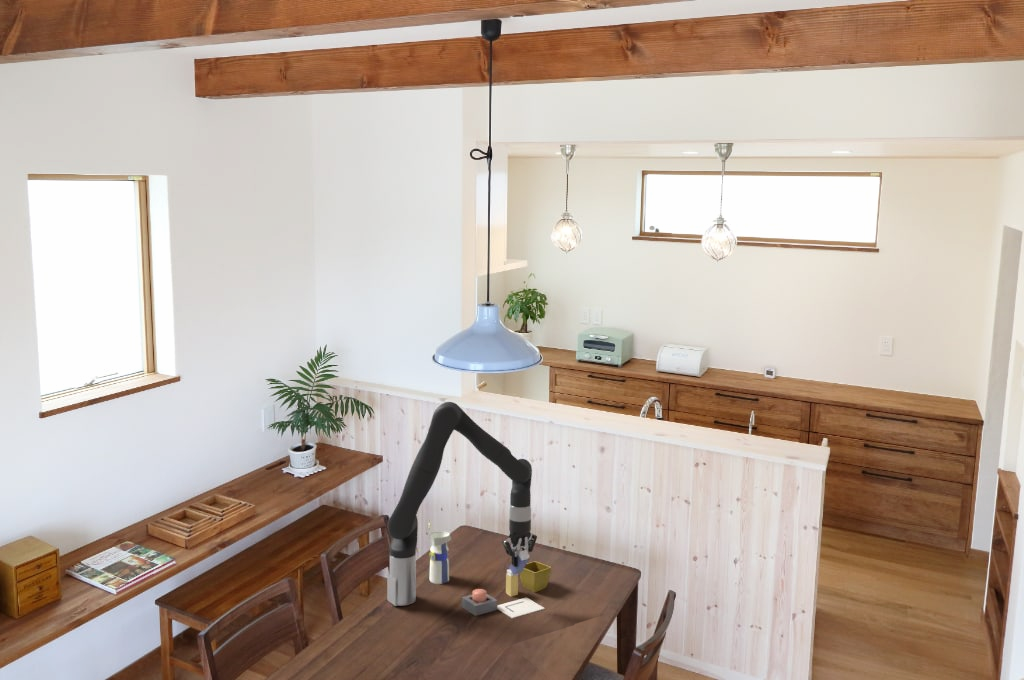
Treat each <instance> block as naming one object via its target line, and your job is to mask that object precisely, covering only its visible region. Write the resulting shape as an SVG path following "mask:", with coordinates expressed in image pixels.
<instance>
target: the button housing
mask: <svg viewBox="0 0 1024 680" xmlns="http://www.w3.org/2000/svg"><path fill="white" fill-rule="evenodd" d="M497 605H498V600H497V599H496V598H495V597H493V596H492V595H489V594H488V593H487V601H484V602H480V603H476V602H474V601H473V600H472V594H469V595H465V596H462V597H461V607H462V608H463V609H465V610H466V611H467V612H469V613H470V614H471V615H473V616H475V617H477V616H481V615H484V614H487V613H491V612H494V611H495V612H496V611H497V610H498V609H497Z"/></svg>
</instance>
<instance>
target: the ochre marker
mask: <svg viewBox="0 0 1024 680" xmlns="http://www.w3.org/2000/svg"><path fill="white" fill-rule="evenodd" d="M505 594H507V596H509V597H510V598H512V597H515V596H517V595H519V574H515V575H513V573H512V571H511V570H510V568H509V569H506V573H505Z"/></svg>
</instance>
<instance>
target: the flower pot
mask: <svg viewBox="0 0 1024 680" xmlns="http://www.w3.org/2000/svg"><path fill="white" fill-rule="evenodd" d="M551 571H552V566H549V565H547V564H544V563H542V562H539V561H535V560H534V561H530V562H527V564H526V565H525V567H524V569H523V570H522V572H521V573H519V578H520V582H521V585H522V587H523V588H524V589H526V590H528V591H530V592H533V593H537V592H539V591H542V590H544V589H546V588H547V586H548V584H549V581H550V578H551V577H550V576H551Z"/></svg>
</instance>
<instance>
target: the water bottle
mask: <svg viewBox="0 0 1024 680" xmlns="http://www.w3.org/2000/svg"><path fill="white" fill-rule="evenodd" d="M430 522H431V521H430V519H429V520H428V521H427V528H428V530H430V527H431V523H430ZM428 538H429V543H430V542H431V547H430V549H429V551H430V552H429V553H428V558H429V559H430V560H429V578H428V579H429V581H430V583H432V584H434V585H435V584H437V585H440V584H441V585H442V584H446V583H448V582H449V581H450V561H449V560H450V559H449V557H448V556H449V555H448V552H449V550H450V548H449V547H448V543H449V542H450V541H452V536H451V534H450V532H448V531H444V530H438V531H433V532H430V534H429V535H428Z"/></svg>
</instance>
